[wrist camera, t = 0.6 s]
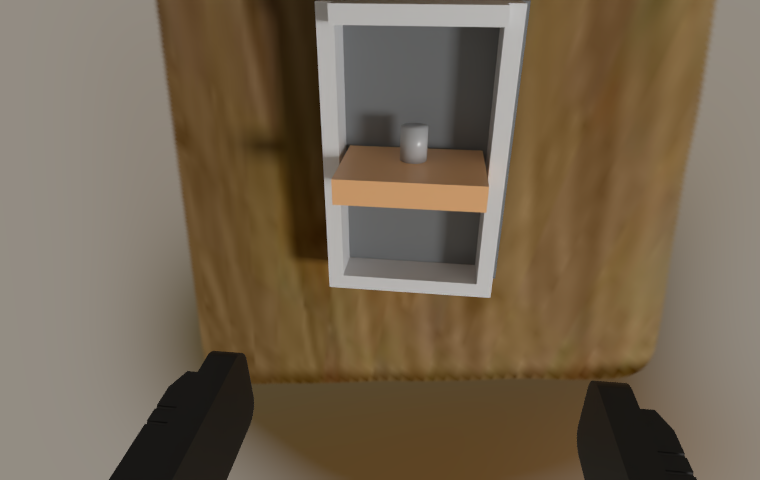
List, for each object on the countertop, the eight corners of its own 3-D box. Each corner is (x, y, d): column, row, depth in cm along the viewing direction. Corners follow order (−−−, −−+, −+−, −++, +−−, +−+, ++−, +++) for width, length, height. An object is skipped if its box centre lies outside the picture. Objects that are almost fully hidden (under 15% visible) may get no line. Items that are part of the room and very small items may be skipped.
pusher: (349, 114, 32) (329, 143, 27) (485, 118, 31) (493, 149, 26) (350, 167, 33) (332, 204, 28) (480, 173, 33) (486, 212, 27)
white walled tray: (319, -3, 30) (298, 3, 26) (528, -1, 29) (542, 5, 24) (332, 260, 39) (317, 298, 34) (493, 271, 37) (499, 311, 33)
